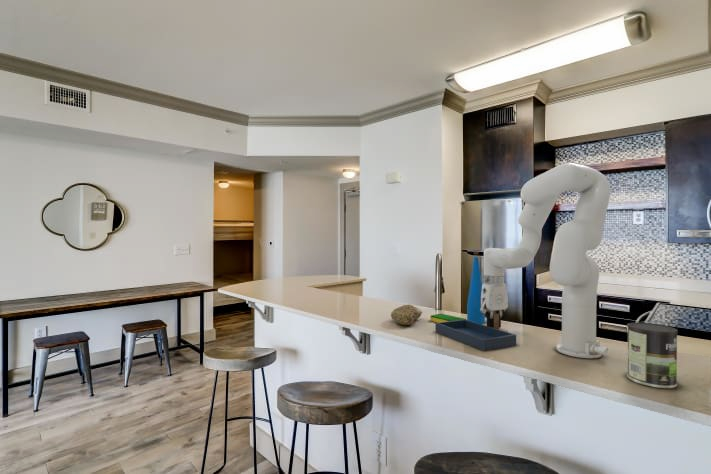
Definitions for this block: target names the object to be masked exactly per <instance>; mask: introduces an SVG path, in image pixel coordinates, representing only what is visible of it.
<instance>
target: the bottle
mask: <svg viewBox="0 0 711 474" xmlns="http://www.w3.org/2000/svg"><path fill="white" fill-rule="evenodd" d="M479 253H480V251H473V255H479ZM482 281H483V280H482V273H481V268H480V260H479V257H478V256H474V257H473V263H472V270H471V277H470V283H469V289H468V297H467V304H466V320H469V321H472V322H475V323H479V324H482V325H484V324H485V323H486V317H485V314H484V313H482V312H480V309H481V292H482V286H483V283H482Z"/></svg>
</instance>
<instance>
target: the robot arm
mask: <svg viewBox="0 0 711 474" xmlns="http://www.w3.org/2000/svg"><path fill="white" fill-rule="evenodd" d="M566 192H571V193H572V192H574V193H578V194H579V198H578V200H577V202H576V205H575V207H574V214H573V219H572V220H569V221H566V222H564V223H562V224H561V225H560V226H559V227H558V229H557V230H556V232H555V235H554V240H553V245H552V250H551V254H550V262H549V274H550V277H551V279H552V280H553V281H554V282H555V283H556V284H557V285H559V286H562V292H561V293H562V294H561V343H558V344H557V345H555V346H556V347H555V349H556V351H557V352H558V353H561V354H563V355H566V356H569V357H573V358H579V359H599V358H601V357H603V356H607V355H608V352H609V348H608V347H605V346H601V342H600V340H597V301H598V295H597V294H598V287H599V286H598V285H599V279H600V267H599V264H598V263H597V261H596V260H595V259H594V258H593V257H592V256H590V255H587V252H588V251H592V250H595V249H596V248H598V247H599V246H600V245H601V243H602V239H603V234H604V229H605V225H606V220H607V219H606V218H607V212H608V207H609V202H610V197H611V185H610V182H609V179H608V177H606V176H605V175H604V174H603V173H601V172H600V171H599V170H597V169H595V168H593V167H590V166H586V165H582V164H578V163H573V162H566V163H562V164H559V165H557V166H555V167H552V168H550V169H548V170H547V171H545V172H543V173H540V174H538V175H536V176H535V177H532V178H531V179H529V180H528V181H527V182H525V183H524V184H523V186H522V188H521V189H520V198H521V200H522V201H523V203H525V204H524V206H523V208H522V210H521V212H520V214H519V216H518V218H517V222H518V224H519V226H520V227H521V229H522V236H521V239H520V241H519V243H518V244H517V247H512V248H511V247H509V248H507V247H506V248H500V247H486V248H485V249H484V250H483V277H482V281H483V283H482V292H481V309H480V312H482V313H484V314H485V318H486V326H489V327H492V328H494V318H493V312H495V313H499V328H501V329H502V317H503V314H504V312H505V311H507V310H508V307H509V295H508V288H507V283H505V269H507V270H511V269H512V270H513V269H522V268H525V267H527V266H529V265H530V264H531V263H532V261H533V260H534V258H535V257H536V255H537V253H538V251H539V249H540V246H541V242H542V237H543V236H542V232H543V231H542V229H543V227H544V225H545V223H546V221H547V219H549V216H550V213H551V212H552V210H553V208H554V207H555V205H556V202H557V200H558V199H559V196H560V194H564V193H566Z"/></svg>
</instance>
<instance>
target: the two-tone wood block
mask: <svg viewBox="0 0 711 474" xmlns="http://www.w3.org/2000/svg"><path fill="white" fill-rule="evenodd" d="M493 318H494V328H495V329H498V330H502V331H505V332H508V333H509V331H508V330H507V329H504V328H502V327H501V328H499V313H495V311H493Z"/></svg>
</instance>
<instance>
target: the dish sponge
mask: <svg viewBox="0 0 711 474" xmlns="http://www.w3.org/2000/svg"><path fill="white" fill-rule="evenodd" d="M463 319H465V320H467V318H464V317H459V316H454V315H450V314H445V313H436V314H431V315H430V319H429V320H430V322H434V323H440V322H448V321H455V320H463Z"/></svg>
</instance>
